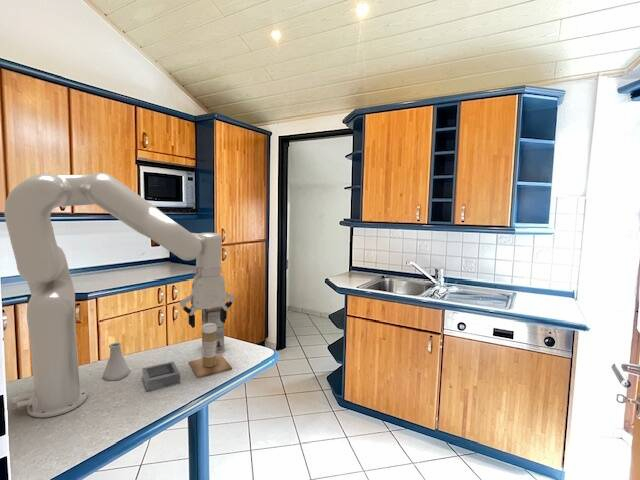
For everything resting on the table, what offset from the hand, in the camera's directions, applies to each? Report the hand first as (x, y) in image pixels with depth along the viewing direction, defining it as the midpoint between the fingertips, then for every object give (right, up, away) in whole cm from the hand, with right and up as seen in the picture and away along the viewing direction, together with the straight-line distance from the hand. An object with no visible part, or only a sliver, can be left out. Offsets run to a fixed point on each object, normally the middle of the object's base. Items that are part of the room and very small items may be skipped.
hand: (207, 324), depth 113 cm
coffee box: (-3, -13, +16) cm, 21 cm away
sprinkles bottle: (0, -14, +2) cm, 14 cm away
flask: (-27, -15, -5) cm, 31 cm away
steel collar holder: (-12, -15, -7) cm, 21 cm away
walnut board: (0, -15, +2) cm, 15 cm away
